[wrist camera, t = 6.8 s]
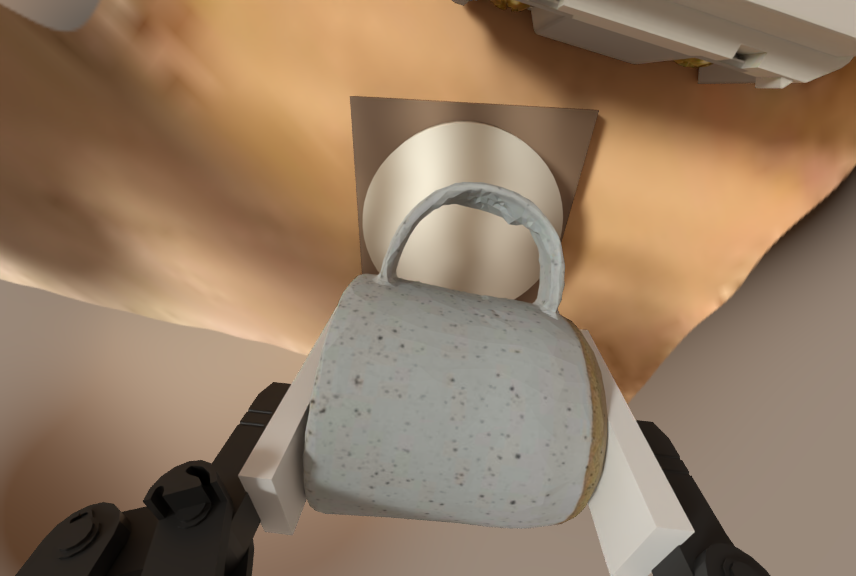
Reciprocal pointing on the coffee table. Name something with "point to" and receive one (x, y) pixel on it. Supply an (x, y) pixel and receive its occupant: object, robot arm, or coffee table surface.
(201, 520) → the robot arm
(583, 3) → the electrical outlet
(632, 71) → the coffee table surface
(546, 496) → the ceramic mug
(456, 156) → the pedestal
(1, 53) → the coffee table surface
